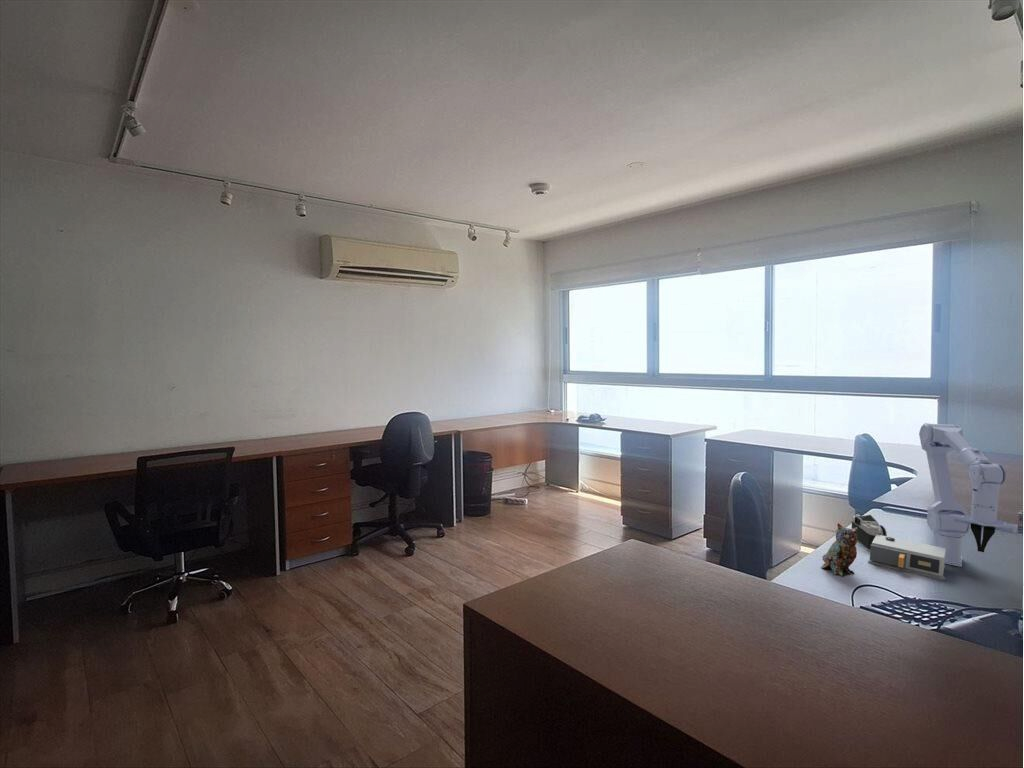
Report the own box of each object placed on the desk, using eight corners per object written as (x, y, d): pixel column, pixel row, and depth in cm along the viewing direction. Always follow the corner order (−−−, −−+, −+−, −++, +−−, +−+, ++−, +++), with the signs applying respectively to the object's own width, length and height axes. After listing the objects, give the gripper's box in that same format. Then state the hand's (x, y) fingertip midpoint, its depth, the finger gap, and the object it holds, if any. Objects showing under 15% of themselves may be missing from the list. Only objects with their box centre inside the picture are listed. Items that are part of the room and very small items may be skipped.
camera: (896, 554, 179) (898, 524, 178) (867, 552, 180) (869, 522, 180) (873, 537, 194) (875, 509, 194) (847, 535, 196) (848, 508, 195)
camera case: (873, 551, 180) (874, 532, 180) (946, 567, 168) (948, 547, 168) (867, 562, 171) (869, 542, 171) (944, 580, 159) (946, 558, 158)
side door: (870, 558, 172) (871, 544, 172) (905, 566, 166) (906, 552, 166) (867, 563, 168) (868, 548, 168) (903, 572, 162) (904, 556, 162)
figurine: (844, 565, 169) (847, 518, 168) (862, 578, 160) (865, 528, 159) (816, 565, 169) (819, 518, 168) (833, 577, 160) (836, 528, 159)
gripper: (951, 502, 158) (948, 548, 159) (1019, 513, 148) (1015, 561, 149) (952, 497, 163) (949, 541, 164) (1018, 507, 154) (1014, 554, 155)
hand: (980, 550), depth 157 cm, fingers closed
